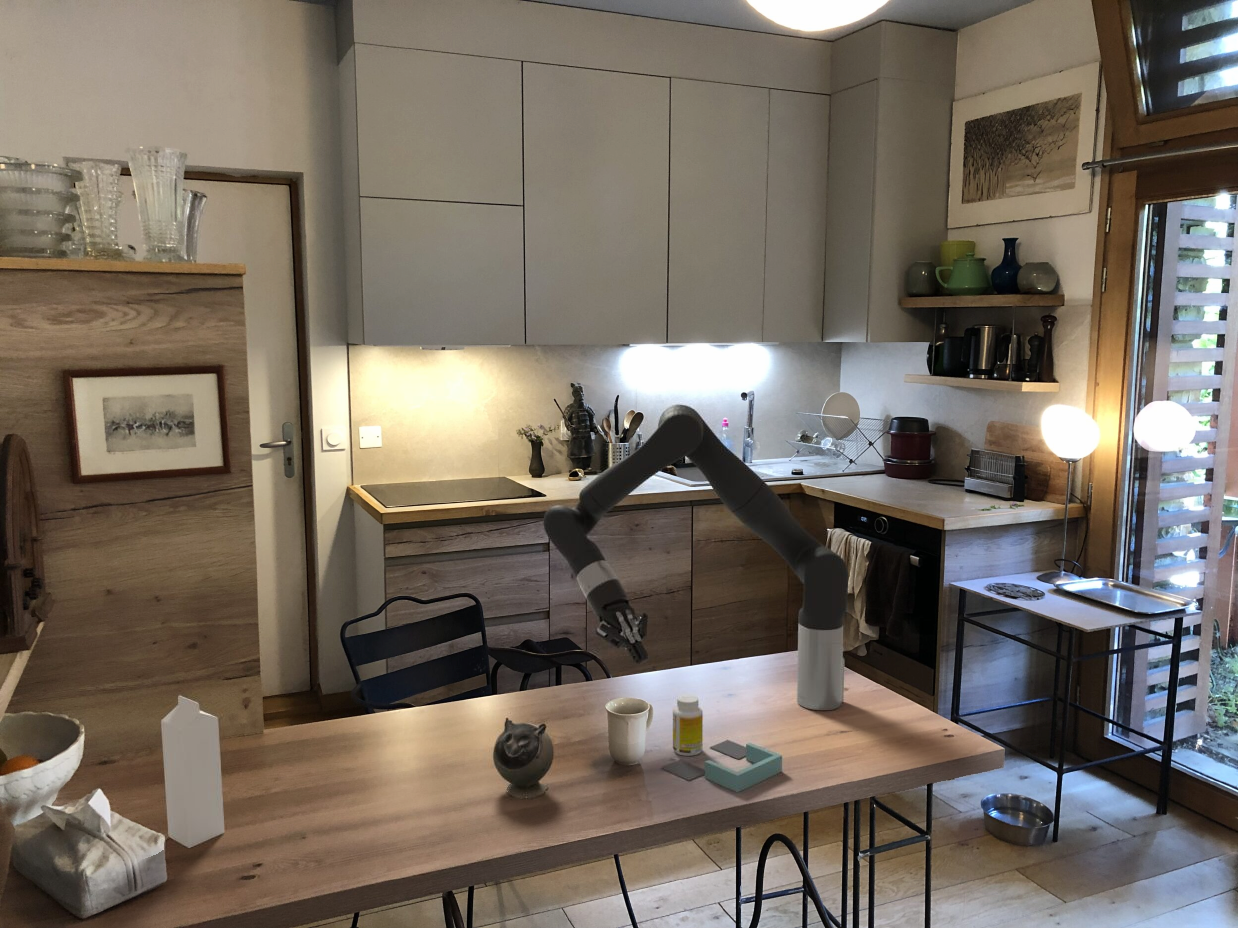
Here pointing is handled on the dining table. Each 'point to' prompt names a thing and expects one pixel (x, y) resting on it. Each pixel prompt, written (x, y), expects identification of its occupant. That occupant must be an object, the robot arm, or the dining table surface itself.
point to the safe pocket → (746, 769)
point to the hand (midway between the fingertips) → (643, 661)
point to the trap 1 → (684, 770)
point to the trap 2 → (730, 749)
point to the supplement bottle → (687, 726)
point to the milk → (192, 774)
